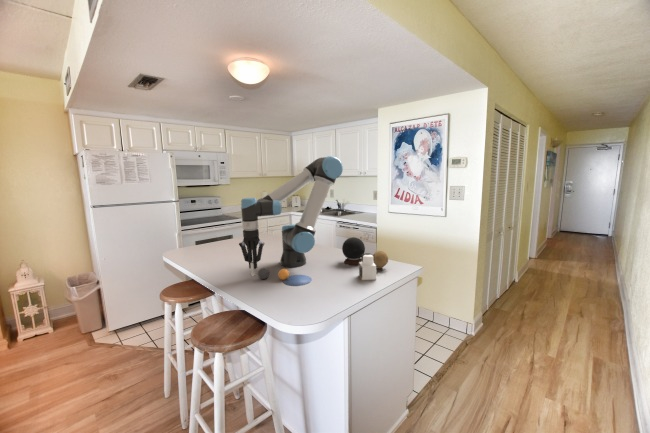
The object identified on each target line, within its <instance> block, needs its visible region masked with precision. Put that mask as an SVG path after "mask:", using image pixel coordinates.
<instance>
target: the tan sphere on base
mask: <svg viewBox="0 0 650 433" xmlns="http://www.w3.org/2000/svg"><path fill="white" fill-rule="evenodd" d="M373 255H374V264H375V265H376V269H382V268H384V267H385V266H386V265H387V264H388V263H389V257H388V254H387V253H386V252H385V251H383V250H376V251H375V252H374V253H373Z"/></svg>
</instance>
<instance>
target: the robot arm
mask: <svg viewBox="0 0 650 433" xmlns="http://www.w3.org/2000/svg"><path fill="white" fill-rule="evenodd" d="M343 170H344V166H343V163H342V161H341V160H340V159H339V158H338V157H336V156H332V155H331V156H326V157H325V156H324V157H319V158H317V159H315V160H313V161H312V162H311V163H309V164H308V165H307V166H305V167H304V168H303V170H302V171H301V172H300V173H298V174H296V175H295V176H294V177H292V178H290V179H288V181H286V182H285V183H283V184H281V185H280V186H278V187H277V188H276V189H274V190H273V191H271V192H269V193H268V194H267V195H265V196H264V197H262V198H259V199H257V198H256V197H244V198H243V197H242V199H241V201H240V209H241V210H240V211H241V220H242V229H243V230H242V234H243V236H242V237H243V238H242V241H241V242H239V243H238V246H239V247H240V248H241V252H242V255H243V259H244V261H245V262H248V268H249V270H250V275H251V276H253V277H254V276H256V275H257V268H258V263H259V262H260V261H261V260H262V254H263V250H264V249H263V247H264V245H265V242H263V241H261V239H260V233H259V231H260V230H259V218H260V217H267V216H269V217H271V216H274V217H275V216H278V215H281V213H282V211H283V209H282V207H283V206H282V202H283V201H285V200H287V199H288V198H290V197H292V195H294V194H295V193H297V192H298V191H300V190H301V189H302V188H304V187H305V186H307V185H308V184H310V183H313V186H312V189H311V191H310V192H309V193H310V194H309V196H308V199H307V201H306V204H305V207H304V209H303V212H302V215H301V217H300V219H299V222H296V223H295V224H293V223H292V224H285V225H283V226H282V227H281V238H282V239H281V240H282V254H281V256H280V265H281V267H286V268H295V267H296V268H297V267H301V266H305V265H306V264H307V257H306V255H305V254H306V253H309V252H310V251H311V250H312V249H313V248H314V246H315V242H316V240H315V237H314V236H315V235H316V228H315V226H316V224H317V222H318V218H319V216H320V214H321V211H322V208H323V206H324V203H325V201H326V198H327V196H328V193H329V190H330V188H331V187H332V186H334V185H335V182H336V181H337V180H336V179H338V178H340V177H341V176H342V173H343ZM257 248H258V250H257Z"/></svg>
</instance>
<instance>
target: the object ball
mask: <svg viewBox="0 0 650 433" xmlns="http://www.w3.org/2000/svg"><path fill="white" fill-rule="evenodd" d="M277 276H278V279H280V280H282V281H283V280H286V279H287V278H288V277H289V276H290V271H289V270H288V269H286V268H282V269H280V270H279V271H278V274H277Z"/></svg>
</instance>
